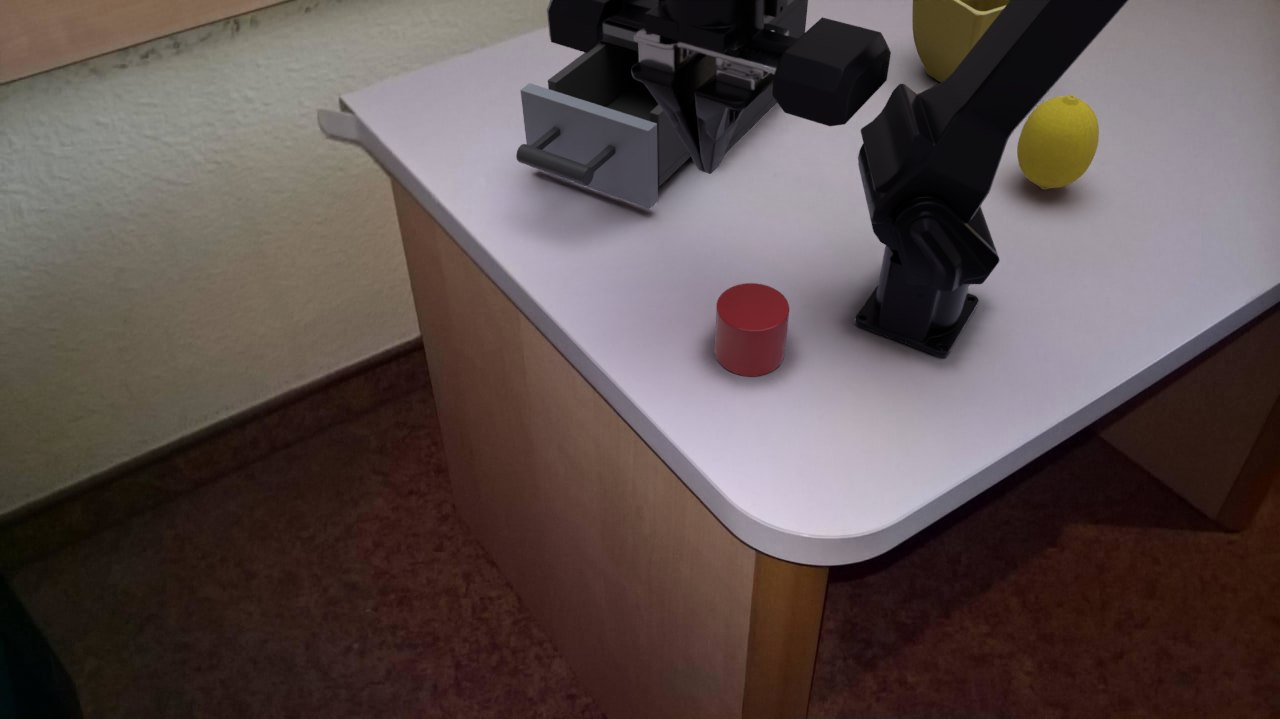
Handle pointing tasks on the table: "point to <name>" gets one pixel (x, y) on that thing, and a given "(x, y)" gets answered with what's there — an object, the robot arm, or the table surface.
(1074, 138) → the lemon
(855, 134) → the table surface
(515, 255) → the table surface
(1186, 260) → the table surface
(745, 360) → the cylinder
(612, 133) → the pod drawer
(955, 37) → the flower pot
